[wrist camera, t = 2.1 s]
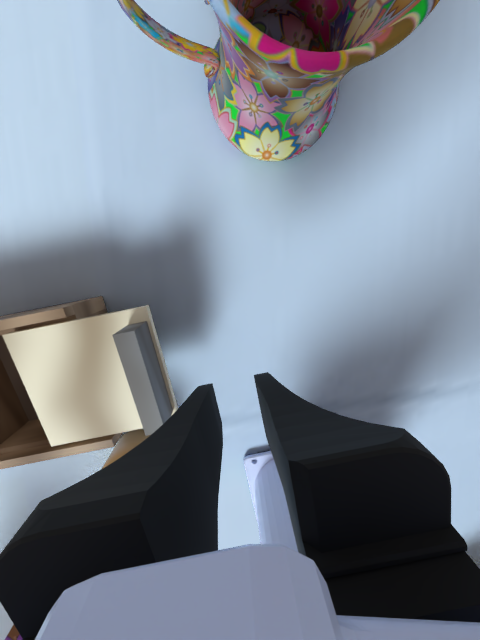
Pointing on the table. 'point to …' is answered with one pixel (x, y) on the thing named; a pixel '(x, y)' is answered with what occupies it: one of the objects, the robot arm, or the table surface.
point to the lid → (95, 375)
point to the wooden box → (14, 402)
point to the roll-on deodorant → (126, 444)
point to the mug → (285, 62)
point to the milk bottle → (7, 627)
